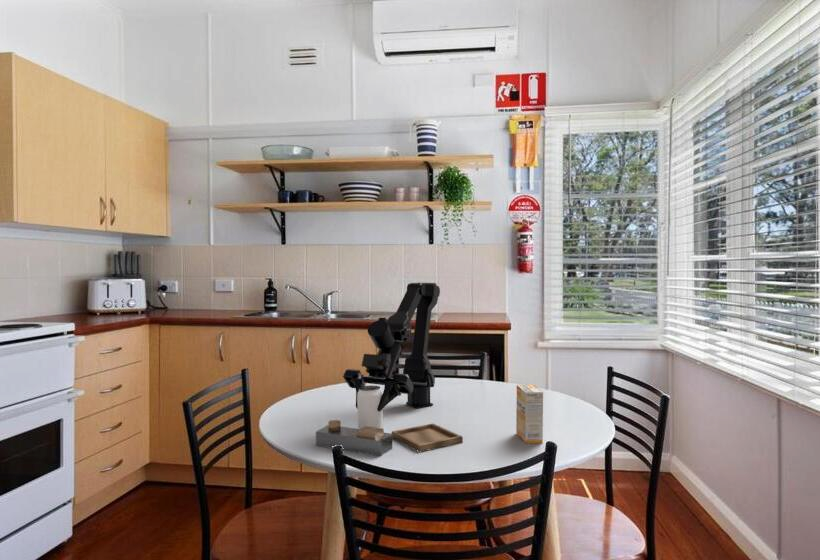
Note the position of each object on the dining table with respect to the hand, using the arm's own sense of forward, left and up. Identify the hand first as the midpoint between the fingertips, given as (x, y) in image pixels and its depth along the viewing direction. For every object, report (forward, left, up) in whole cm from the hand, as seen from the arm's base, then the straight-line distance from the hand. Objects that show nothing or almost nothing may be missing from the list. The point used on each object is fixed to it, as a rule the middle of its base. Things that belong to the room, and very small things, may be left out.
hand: (367, 409), depth 137 cm
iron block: (+6, +4, -7) cm, 10 cm away
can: (-1, -1, -7) cm, 7 cm away
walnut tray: (-12, +9, -7) cm, 17 cm away
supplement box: (-35, +22, -8) cm, 42 cm away
